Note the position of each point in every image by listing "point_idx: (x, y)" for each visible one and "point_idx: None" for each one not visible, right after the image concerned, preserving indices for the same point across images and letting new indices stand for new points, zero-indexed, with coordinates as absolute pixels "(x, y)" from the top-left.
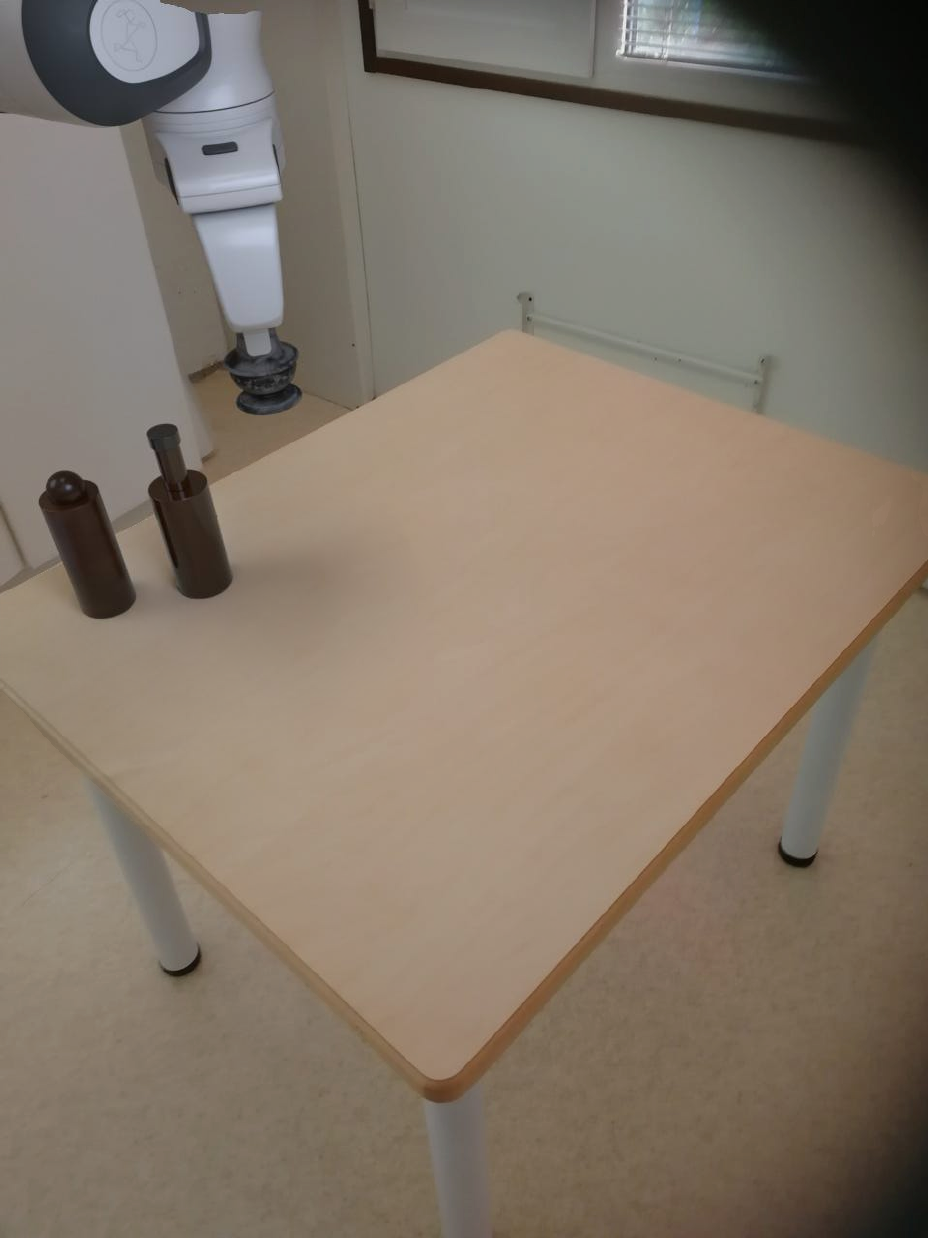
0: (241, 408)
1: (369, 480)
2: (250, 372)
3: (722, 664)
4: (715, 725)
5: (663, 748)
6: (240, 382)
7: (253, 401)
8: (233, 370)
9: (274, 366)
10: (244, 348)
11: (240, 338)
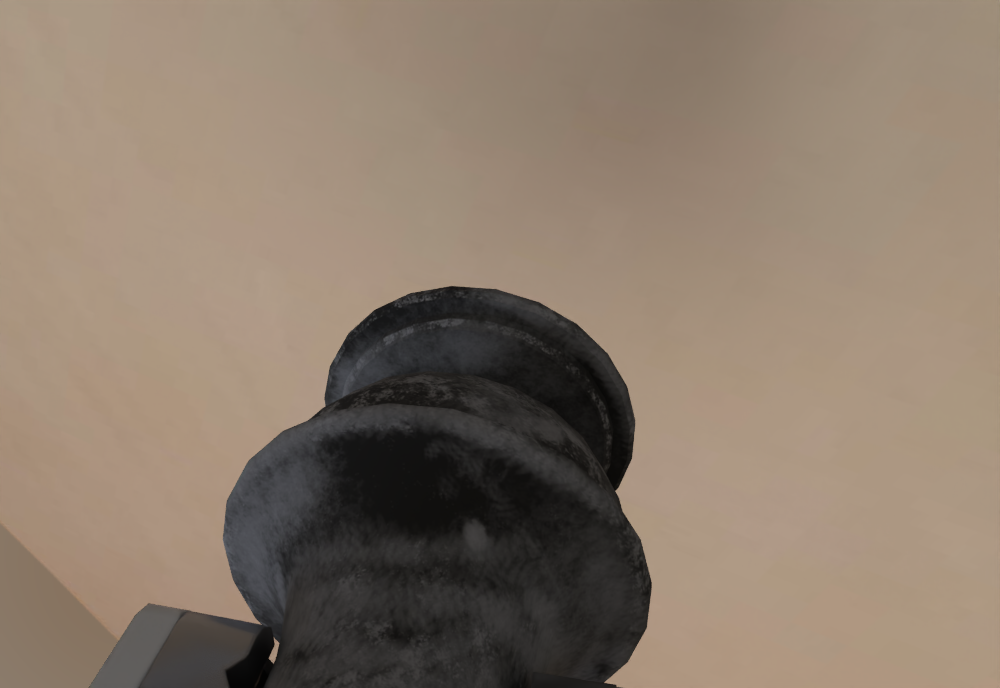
0: (409, 301)
1: (966, 359)
2: (240, 502)
3: (163, 584)
4: (54, 523)
5: (18, 457)
6: (321, 410)
7: (415, 369)
8: (304, 439)
9: (264, 604)
10: (314, 595)
11: (314, 642)
